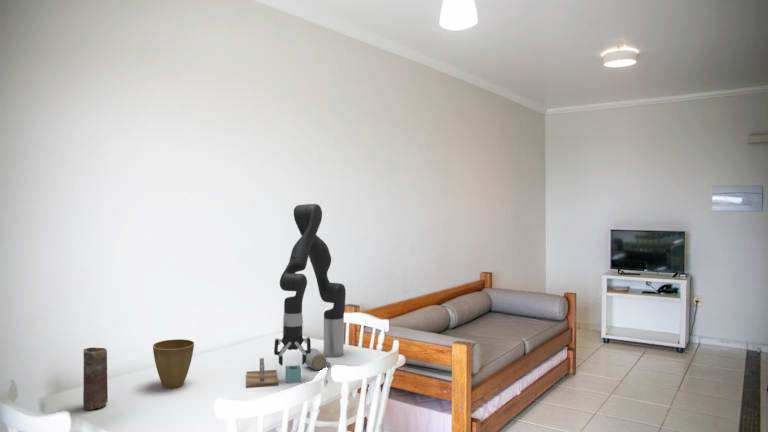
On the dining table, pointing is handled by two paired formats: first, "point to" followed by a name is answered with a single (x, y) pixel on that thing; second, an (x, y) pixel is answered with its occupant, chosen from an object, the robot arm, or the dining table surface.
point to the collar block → (293, 374)
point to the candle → (95, 378)
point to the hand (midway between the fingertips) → (292, 364)
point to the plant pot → (173, 361)
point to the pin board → (256, 378)
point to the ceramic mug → (316, 360)
